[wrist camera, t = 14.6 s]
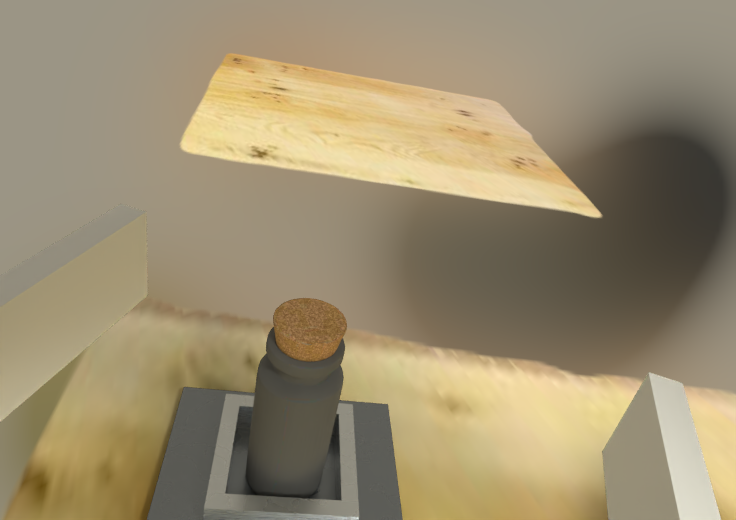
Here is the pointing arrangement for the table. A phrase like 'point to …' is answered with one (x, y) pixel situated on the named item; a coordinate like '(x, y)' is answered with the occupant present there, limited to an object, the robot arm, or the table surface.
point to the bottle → (296, 399)
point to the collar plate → (229, 459)
